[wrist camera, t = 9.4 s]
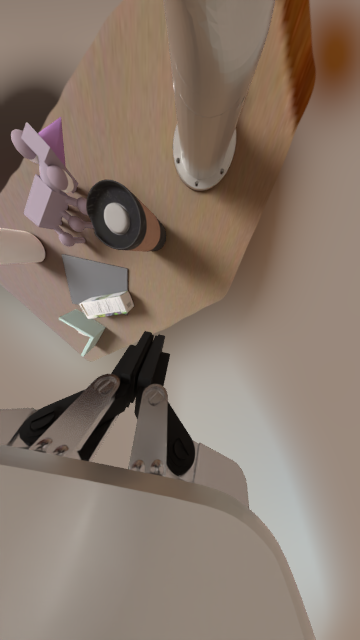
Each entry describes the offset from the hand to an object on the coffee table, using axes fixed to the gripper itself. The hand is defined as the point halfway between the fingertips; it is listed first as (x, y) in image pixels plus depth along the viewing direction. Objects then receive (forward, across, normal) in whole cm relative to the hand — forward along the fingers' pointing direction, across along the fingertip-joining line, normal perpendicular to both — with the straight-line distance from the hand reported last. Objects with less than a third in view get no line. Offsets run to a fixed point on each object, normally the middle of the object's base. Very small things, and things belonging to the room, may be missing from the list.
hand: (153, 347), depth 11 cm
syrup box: (+29, +15, +11) cm, 34 cm away
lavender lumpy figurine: (+33, +28, -12) cm, 45 cm away
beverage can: (+33, +46, +2) cm, 56 cm away
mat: (+32, +26, +10) cm, 43 cm away
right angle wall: (+33, +33, +29) cm, 54 cm away
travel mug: (+33, +10, -9) cm, 35 cm away
